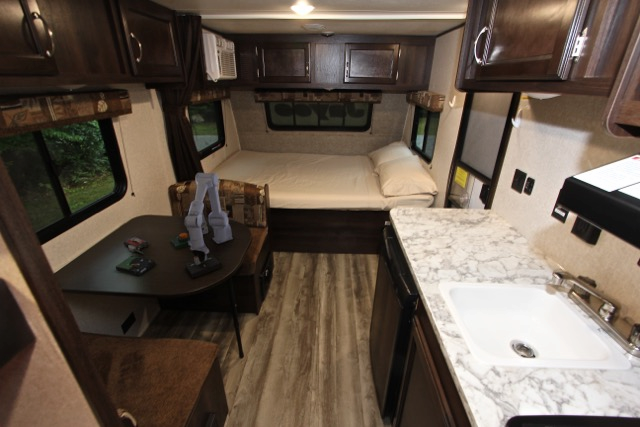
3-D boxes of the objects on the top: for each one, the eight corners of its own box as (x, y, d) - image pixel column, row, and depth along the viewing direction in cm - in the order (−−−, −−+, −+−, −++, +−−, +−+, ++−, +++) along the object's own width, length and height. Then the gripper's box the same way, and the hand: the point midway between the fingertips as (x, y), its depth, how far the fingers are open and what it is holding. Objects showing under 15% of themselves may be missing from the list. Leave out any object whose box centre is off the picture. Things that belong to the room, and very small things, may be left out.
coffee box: (209, 232, 181) (205, 209, 174) (198, 236, 177) (194, 212, 170) (203, 227, 187) (199, 204, 180) (193, 230, 183) (188, 207, 177)
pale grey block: (205, 258, 151) (204, 251, 149) (207, 259, 150) (206, 252, 148) (194, 263, 146) (193, 256, 144) (197, 265, 145) (195, 257, 144)
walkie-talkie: (120, 246, 165) (142, 256, 157) (118, 240, 163) (140, 249, 155) (135, 240, 172) (157, 249, 164) (133, 233, 170) (155, 242, 162)
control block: (192, 236, 177) (191, 230, 176) (198, 242, 171) (197, 236, 169) (171, 242, 170) (170, 236, 169) (176, 249, 164) (175, 243, 162)
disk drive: (156, 264, 150) (133, 259, 154) (155, 260, 149) (132, 255, 153) (139, 276, 141) (115, 270, 145) (138, 272, 140) (114, 266, 144)
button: (186, 234, 171) (185, 232, 171) (188, 237, 169) (187, 234, 168) (179, 236, 169) (178, 234, 168) (181, 239, 166) (180, 236, 166)
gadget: (211, 257, 157) (210, 252, 156) (220, 267, 149) (220, 262, 147) (184, 267, 149) (183, 262, 147) (193, 278, 140) (191, 273, 139)
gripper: (180, 236, 143) (185, 259, 149) (198, 245, 135) (202, 269, 141) (193, 230, 148) (197, 253, 154) (211, 239, 141) (215, 262, 146)
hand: (201, 260), depth 148 cm, fingers closed on pale grey block, 2 cm apart
